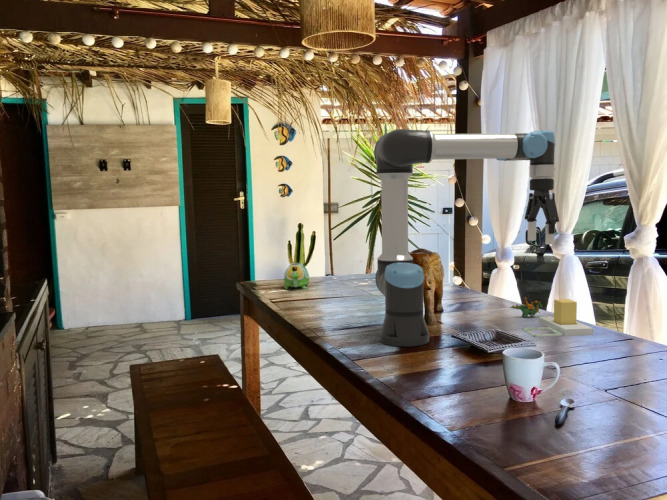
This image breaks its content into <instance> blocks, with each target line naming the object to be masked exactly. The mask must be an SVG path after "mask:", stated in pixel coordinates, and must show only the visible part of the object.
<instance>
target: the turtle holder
mask: <svg viewBox="0 0 667 500" xmlns="http://www.w3.org/2000/svg"><path fill="white" fill-rule="evenodd" d="M308 271H309V270H308V269H307V268H306V266H305V265H304V264H303V263H302V262H292V263H289V265H288V266H287V268H286V269H285V271H284V275H283V276H284V277H283V285H284V287H283V288H285V289H284V290H288V289H289V288H298V287H301V289H302V290H307V289H309V288H308V287H307V286H309V284H310V275H309V272H308ZM289 286H290V287H289Z"/></svg>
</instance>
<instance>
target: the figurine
mask: <svg viewBox="0 0 667 500" xmlns="http://www.w3.org/2000/svg"><path fill="white" fill-rule="evenodd" d="M523 299H524V300H523V302H524V304H520V303H519V304H518V303H517V304H516V305H512V306H509V308H510V309H512V310H513V309H514V310H520V311H521V312H522V314H521V317H522V318H524V319H526V317H528V316H529V317H530V318H531V317H532V318H534V316H536V314H538V313H540V314H541V311H540V310H539V308H543V305H542V303H541V301H537V299H536V300H534V301H531V302H530V303H529V301H528V299H527V297H526V296H525V297H524V298H523ZM534 303H535V306H534Z"/></svg>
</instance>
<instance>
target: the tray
mask: <svg viewBox="0 0 667 500" xmlns="http://www.w3.org/2000/svg"><path fill="white" fill-rule="evenodd" d="M521 330H522V331H523V332H525V333H527V334H528V335H530V336H532V337H533V338H537V337H538V338H540V337H541V338H542V337H563V336H564V335H563V334H562V333H560V332H558V331H556V330H554V329H552V328H550V327H546V326H545V327H524V328H523V327H522V328H521ZM542 330H544V331H545V330H548V331H550V332H552V333H543V334H535V333H533V332H531V331H542Z"/></svg>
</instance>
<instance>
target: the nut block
mask: <svg viewBox="0 0 667 500" xmlns="http://www.w3.org/2000/svg"><path fill="white" fill-rule="evenodd" d="M577 303H578V302H577V301H575V300H572V299H569V298H567V299H565V298H563V299H562V298H561V299H554V301H553V316H554V322H555V323H557V324H559V325H571V324H576V321H577V314H578V313H577V312H578V311H577V310H578V309H577V308H578V305H577Z"/></svg>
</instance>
